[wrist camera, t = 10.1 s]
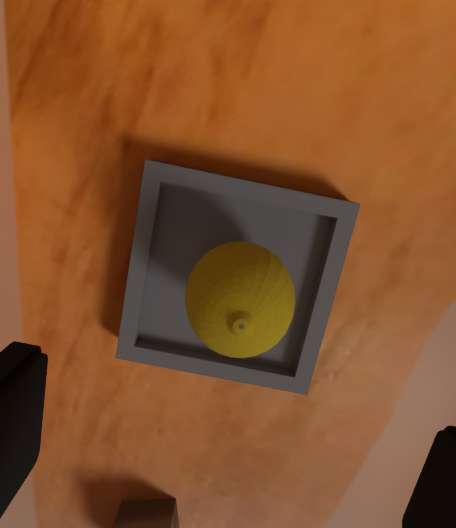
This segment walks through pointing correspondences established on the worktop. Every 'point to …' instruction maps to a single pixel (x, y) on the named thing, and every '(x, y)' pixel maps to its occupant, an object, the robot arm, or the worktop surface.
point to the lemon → (240, 299)
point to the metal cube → (148, 514)
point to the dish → (218, 233)
